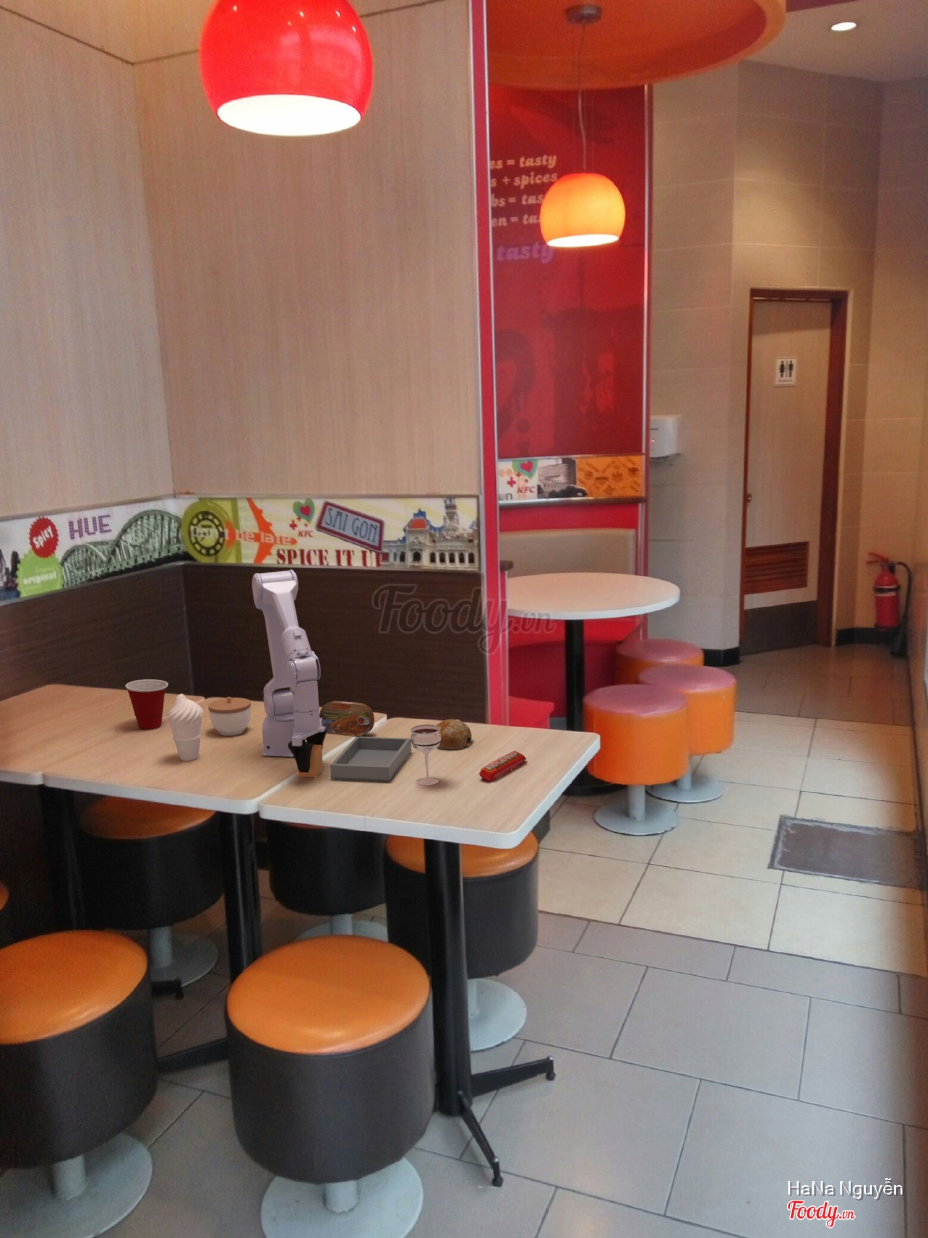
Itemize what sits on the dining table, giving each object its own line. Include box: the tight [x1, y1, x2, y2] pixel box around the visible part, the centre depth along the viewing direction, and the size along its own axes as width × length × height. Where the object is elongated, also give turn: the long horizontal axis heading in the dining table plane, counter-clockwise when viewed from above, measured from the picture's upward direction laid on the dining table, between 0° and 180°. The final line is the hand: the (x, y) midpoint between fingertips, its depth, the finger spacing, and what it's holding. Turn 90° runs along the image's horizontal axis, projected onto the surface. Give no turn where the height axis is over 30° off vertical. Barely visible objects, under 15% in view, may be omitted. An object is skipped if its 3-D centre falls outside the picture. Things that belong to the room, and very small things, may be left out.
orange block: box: [296, 745, 324, 778], centre depth 223 cm, size 4×4×6 cm
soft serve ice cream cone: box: [166, 693, 204, 762], centre depth 234 cm, size 8×8×16 cm
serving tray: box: [329, 736, 412, 783], centre depth 226 cm, size 14×20×4 cm
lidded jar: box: [207, 696, 252, 737], centre depth 253 cm, size 11×11×9 cm
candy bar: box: [478, 750, 527, 782], centre depth 220 cm, size 16×4×3 cm, turn 144°
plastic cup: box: [125, 678, 169, 731], centre depth 260 cm, size 11×11×12 cm
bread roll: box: [435, 718, 473, 751], centre depth 239 cm, size 10×10×8 cm
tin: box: [319, 700, 376, 737], centre depth 249 cm, size 15×3×8 cm, turn 67°
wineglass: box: [409, 724, 441, 786], centre depth 215 cm, size 7×7×12 cm
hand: (310, 766), depth 223 cm, fingers open, 7 cm apart
